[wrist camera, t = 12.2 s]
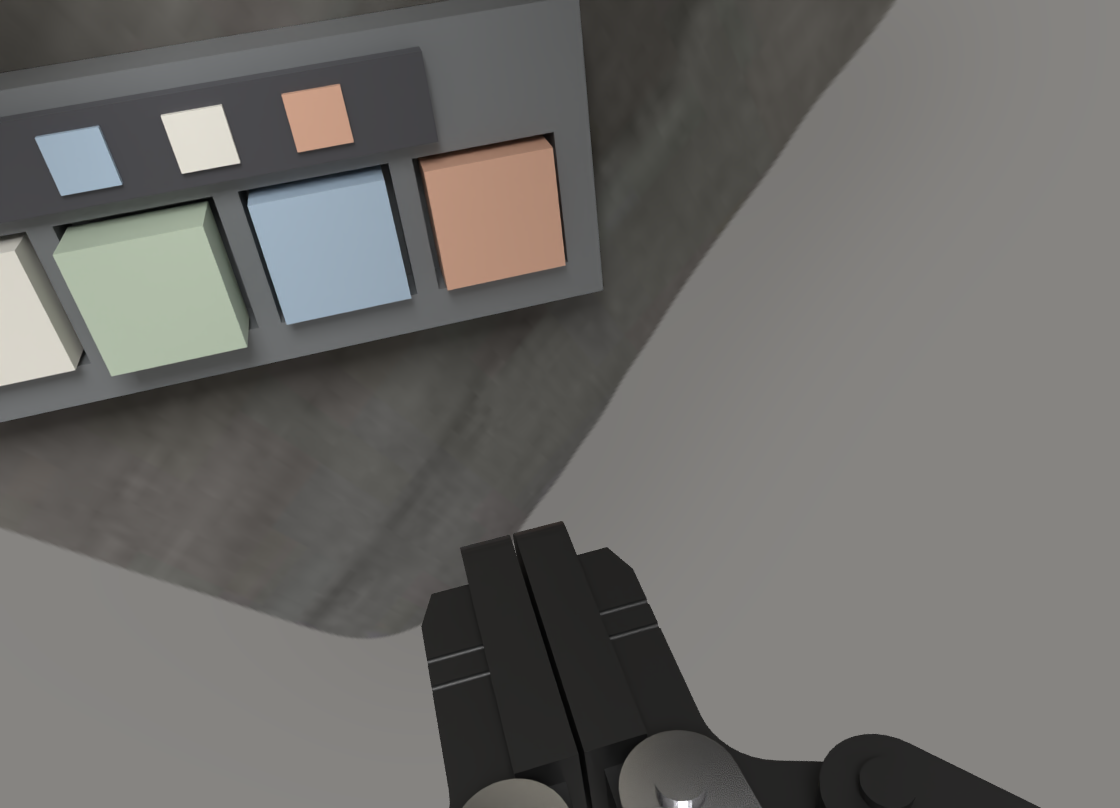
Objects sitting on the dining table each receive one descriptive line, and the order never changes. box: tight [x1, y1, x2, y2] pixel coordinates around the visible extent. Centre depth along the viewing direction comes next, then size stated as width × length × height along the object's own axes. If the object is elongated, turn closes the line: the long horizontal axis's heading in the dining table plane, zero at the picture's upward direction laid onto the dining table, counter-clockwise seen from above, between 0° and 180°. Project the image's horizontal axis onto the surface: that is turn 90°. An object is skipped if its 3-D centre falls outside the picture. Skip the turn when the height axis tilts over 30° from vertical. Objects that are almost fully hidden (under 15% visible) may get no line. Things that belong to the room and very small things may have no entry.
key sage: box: [53, 201, 249, 376], centre depth 32 cm, size 5×5×2 cm
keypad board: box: [0, 0, 603, 422], centre depth 33 cm, size 12×28×4 cm, turn 97°
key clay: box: [417, 134, 566, 290], centre depth 35 cm, size 5×5×2 cm
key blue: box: [248, 165, 411, 325], centre depth 34 cm, size 5×5×2 cm
